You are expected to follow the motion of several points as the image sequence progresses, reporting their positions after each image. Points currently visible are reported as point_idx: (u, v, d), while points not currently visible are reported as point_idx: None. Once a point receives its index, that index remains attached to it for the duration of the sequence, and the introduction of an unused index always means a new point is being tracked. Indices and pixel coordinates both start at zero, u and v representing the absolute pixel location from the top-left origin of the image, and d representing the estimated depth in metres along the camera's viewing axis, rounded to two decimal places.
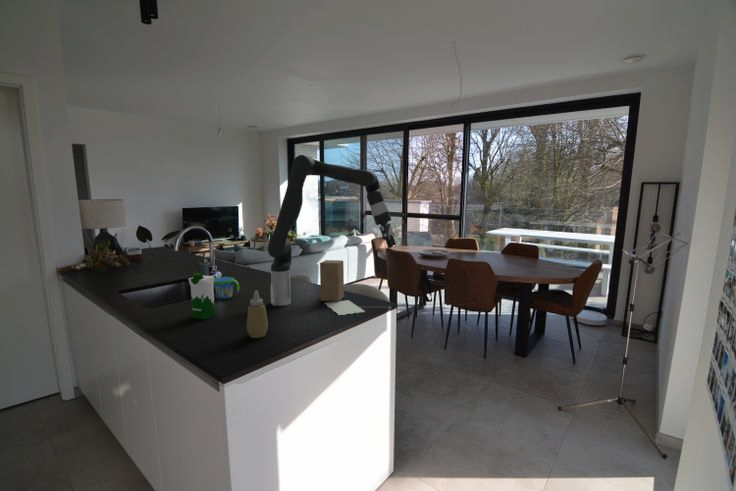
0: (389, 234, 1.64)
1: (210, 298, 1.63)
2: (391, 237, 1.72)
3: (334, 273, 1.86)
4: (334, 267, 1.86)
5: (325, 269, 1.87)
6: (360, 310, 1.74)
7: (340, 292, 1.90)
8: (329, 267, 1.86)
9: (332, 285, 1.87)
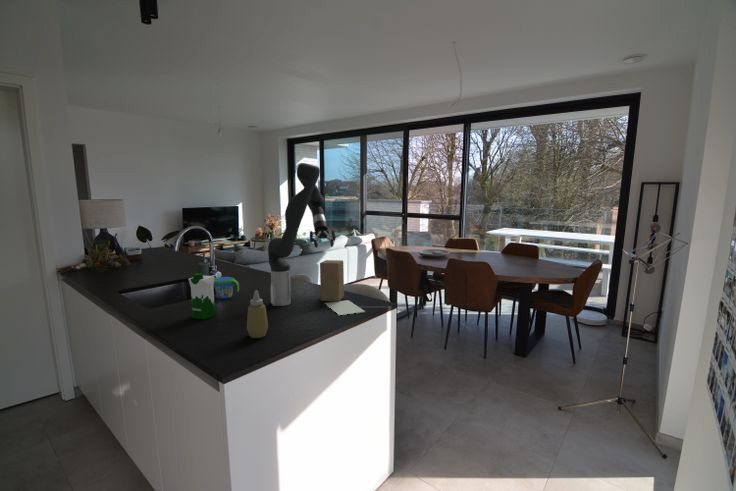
0: None
1: (210, 298, 1.63)
2: None
3: (334, 273, 1.86)
4: (334, 267, 1.86)
5: (325, 269, 1.87)
6: (360, 310, 1.74)
7: (340, 292, 1.90)
8: (329, 267, 1.86)
9: (332, 286, 1.87)
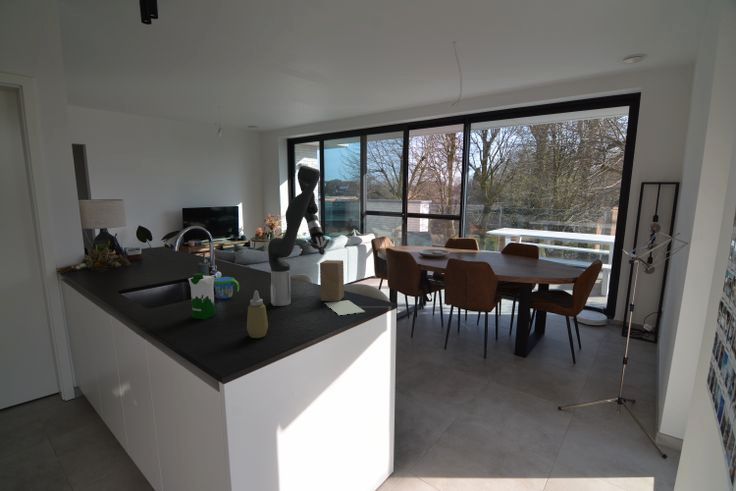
0: None
1: (210, 298, 1.63)
2: None
3: (334, 273, 1.86)
4: (334, 267, 1.86)
5: (325, 269, 1.87)
6: (360, 310, 1.74)
7: (340, 292, 1.90)
8: (329, 267, 1.86)
9: (332, 286, 1.87)
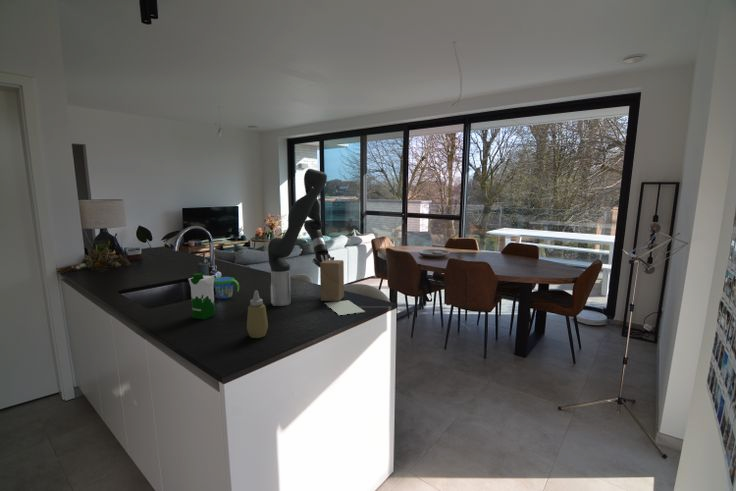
0: None
1: (210, 298, 1.63)
2: None
3: (334, 273, 1.86)
4: (334, 267, 1.86)
5: (325, 269, 1.87)
6: (360, 310, 1.74)
7: (340, 292, 1.90)
8: (329, 267, 1.86)
9: (333, 286, 1.87)
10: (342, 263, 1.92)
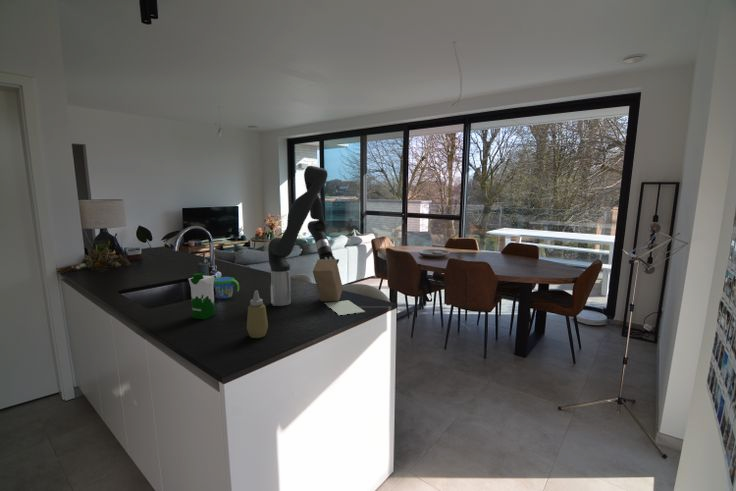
0: None
1: (210, 298, 1.63)
2: None
3: (329, 279, 1.79)
4: (328, 274, 1.78)
5: (319, 276, 1.79)
6: (360, 310, 1.74)
7: (339, 290, 1.88)
8: (323, 275, 1.78)
9: (330, 289, 1.83)
10: (335, 264, 1.83)
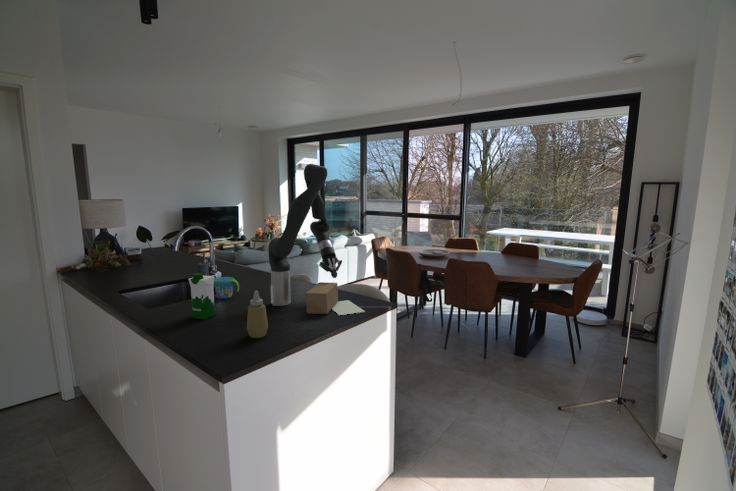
0: (333, 268, 1.92)
1: (210, 298, 1.63)
2: None
3: None
4: None
5: None
6: (360, 310, 1.74)
7: (335, 297, 1.83)
8: None
9: None
10: (327, 298, 1.68)
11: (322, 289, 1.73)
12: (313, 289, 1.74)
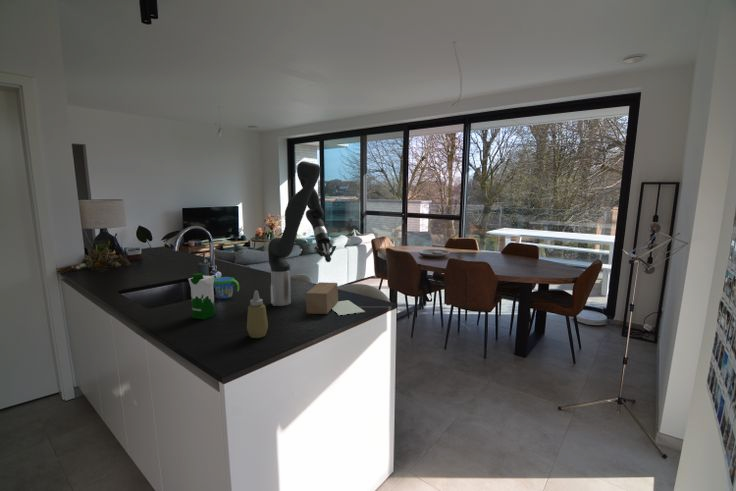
0: (327, 253, 2.00)
1: (210, 298, 1.63)
2: None
3: None
4: None
5: None
6: (360, 310, 1.74)
7: (335, 297, 1.83)
8: None
9: None
10: (327, 298, 1.68)
11: (322, 289, 1.73)
12: (313, 289, 1.74)
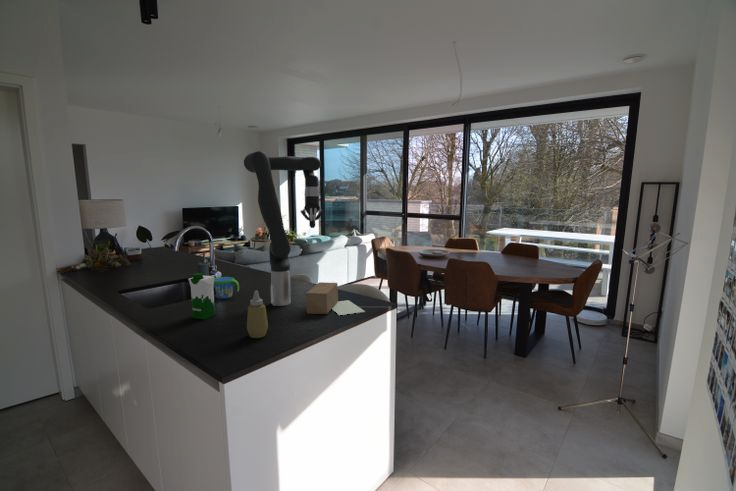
0: None
1: (210, 298, 1.63)
2: None
3: None
4: None
5: None
6: (360, 310, 1.74)
7: (335, 297, 1.83)
8: None
9: None
10: (327, 298, 1.68)
11: (322, 289, 1.73)
12: (313, 289, 1.74)
